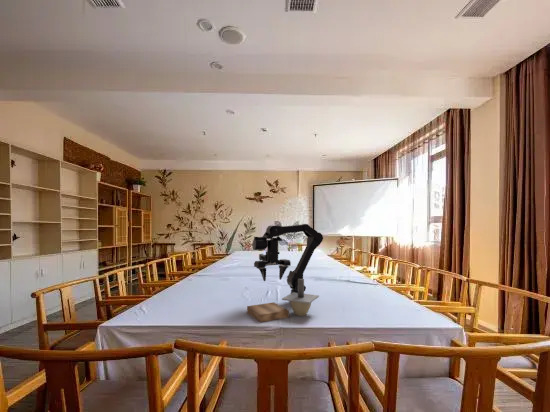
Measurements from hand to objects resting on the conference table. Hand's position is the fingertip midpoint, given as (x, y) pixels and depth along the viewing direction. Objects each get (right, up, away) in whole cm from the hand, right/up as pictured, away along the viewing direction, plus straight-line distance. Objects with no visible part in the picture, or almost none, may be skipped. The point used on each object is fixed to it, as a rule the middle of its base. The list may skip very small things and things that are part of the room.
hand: (272, 280), depth 148 cm
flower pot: (+13, -11, -16) cm, 24 cm away
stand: (-2, -11, -18) cm, 21 cm away
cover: (+13, -4, -16) cm, 21 cm away
